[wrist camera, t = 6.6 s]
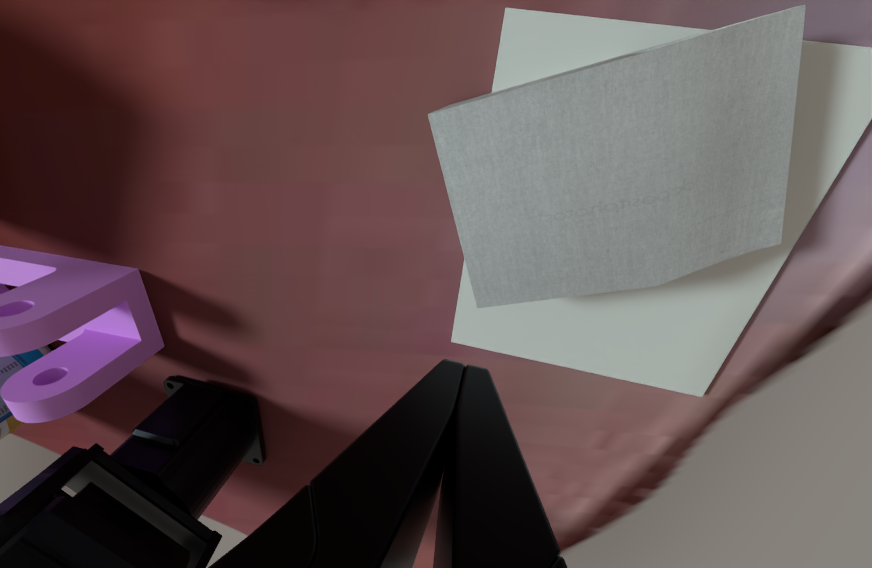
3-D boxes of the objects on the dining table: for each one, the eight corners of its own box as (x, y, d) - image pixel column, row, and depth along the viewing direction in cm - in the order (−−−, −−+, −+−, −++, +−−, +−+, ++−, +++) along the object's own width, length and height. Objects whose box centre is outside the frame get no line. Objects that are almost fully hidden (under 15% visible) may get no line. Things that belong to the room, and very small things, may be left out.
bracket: (140, 267, 23) (0, 338, 17) (166, 345, 25) (53, 429, 19) (-40, 237, 25) (-223, 290, 19) (2, 312, 27) (-146, 379, 21)
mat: (699, 392, 19) (701, 397, 19) (452, 338, 20) (450, 341, 20) (904, 52, 12) (912, 52, 12) (506, 9, 13) (505, 7, 13)
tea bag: (477, 308, 15) (813, 266, 12) (427, 114, 12) (853, -8, 9) (486, 265, 18) (751, 223, 15) (449, 104, 15) (767, 13, 12)
